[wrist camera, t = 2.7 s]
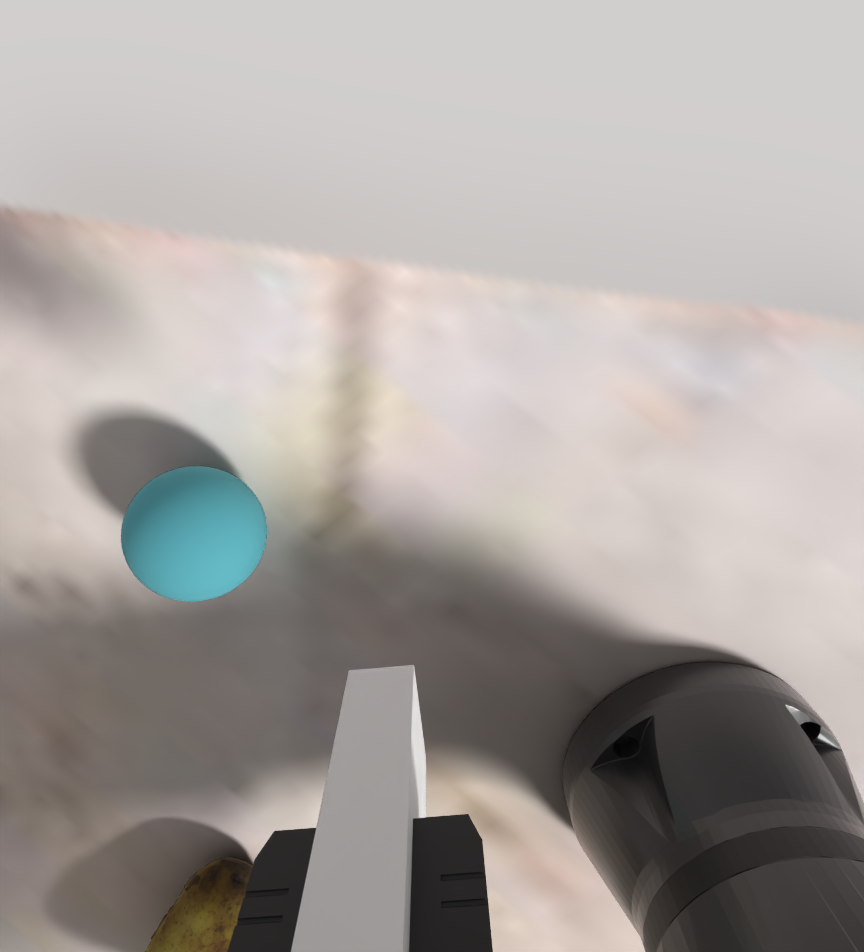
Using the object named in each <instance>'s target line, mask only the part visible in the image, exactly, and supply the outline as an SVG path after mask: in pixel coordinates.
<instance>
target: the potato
mask: <svg viewBox="0 0 864 952" xmlns="http://www.w3.org/2000/svg"><path fill="white" fill-rule="evenodd" d="M252 868H253V866H252V865H251V864H249V863H248V862H245V861H243V860H240V859H236V858H231V857H227V858H221V859H217V860H215V861H213V862H211V863H209V864H207V865H206V866H205V867H203V868H202V869H200V870H199V871H198V872H197V873H196V874H195V875H194V876H193V877H191V878H190V879H189V881H188V883H187V884H186V885H185V886H184V890H183V891H182V893H181V894H180V896H179V897H178V899H177V901H176V902H175V904H174V905H173V906H172V907H171V908H170V909H169V911H168V913H167V914H166V915H165V916H164V918H163V920H162V922H161V923H160V925H159V927H158V929H157V930H156V932H155V933H154V935H153V936H152V937H151V942H150V944H149V946H148V948H147V949H146V951H145V952H227V951H228V948H229V944H230V941H231V938H232V934H233V931H234V928H235V926H236V925H237V918H238V914H239V911H240V908H241V904H242V901H243V898H245V894H246V893H245V891H246V888H247V884H248V881H249V878H250V874H251V871H252Z"/></svg>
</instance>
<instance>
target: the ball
mask: <svg viewBox="0 0 864 952" xmlns="http://www.w3.org/2000/svg"><path fill="white" fill-rule="evenodd" d="M266 538H267V525H266V518H265V514H264V511H263V508H262V506H261V503H260V502H259V500H258V498H257V497H256V495H255V494H254V493H253V491H252V490H251V489H250V488H249V487H248V486H247V485H246V484H245V483H243V482H242V481H241V480H240V479H238V478H237V477H235V476H233V475H232V474H230V473H227V472H225V471H222V470H220V469H216V468H212V467H204V466H188V467H182V468H178V469H174V470H171V471H168V472H166V473H163V474H161V475H159V476H158V477H156V478H154V479H153V480H151V481H150V482H149V483H147V484H146V485H145V486H144V487H143V488H142V489H141V490H140V491H139V492H138V493H137V494H136V496H135V497H134V498H133V500H132V501H131V503H130V505H129V506H128V508H127V511H126V513H125V516H124V519H123V523H122V530H121V543H122V549H123V554H124V556H125V559H126V562H127V564H128V566H129V568H130V569H131V571H132V572H133V574H134V575H135V576H136V577H137V579H138V580H139V581H140V582H141V583H142V584H144V585H145V586H146V587H147V588H149V589H150V590H152V591H153V592H155V593H157V594H159V595H161V596H164V597H166V598H170V599H174V600H179V601H188V602H195V601H204V600H209V599H213V598H217V597H219V596H221V595H224V594H226V593H228V592H230V591H232V590H233V589H235V588H236V587H238V586H239V585H240V584H241V583H243V582H244V581H245V580H246V579H247V578H248V577H249V576H250V575H251V573H252V572H253V571H254V569H255V568H256V566H257V565H258V563H259V561H260V559H261V557H262V555H263V552H264V549H265V544H266Z"/></svg>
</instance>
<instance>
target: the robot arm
mask: <svg viewBox="0 0 864 952" xmlns="http://www.w3.org/2000/svg"><path fill="white" fill-rule="evenodd" d="M563 790H564V795H565V799H566V803H567V807H568V810H569V814H570V818H571V822H572V825H573V829H574V831H575V834H576V836H577V838H578V841H579V843H580V845H581V847H582V849H583V850H584V852H585V853H586V855H587V856H588V858H589V859H590V861H591V862H592V864H593V865H594V867H595V868H596V870H597V872H598V873H599V875H600V876H601V878H602V879H603V881H604V882H605V884H606V885H607V887H608V888H609V890H610V891H611V893H612V894H613V896H614V897H615V899H616V900H617V902H618V903H619V905H620V906H621V908H622V909H623V911H624V912H625V914H626V915H627V917H628V919H629V920H630V922H631V923H632V925H633V926H634V928H635V929H636V931H637V932H638V934H639V935H640V937H641V939H642V942H643V945H644V948H645V951H646V952H864V803H863V800H862V798H861V795H860V793H859V791H858V788H857V786H856V783H855V781H854V778H853V776H852V774H851V771H850V769H849V766H848V764H847V762H846V759H845V757H844V754H843V752H842V749H841V747H840V745H839V743H838V741H837V739H836V738H835V736H834V735H833V733H832V732H831V730H830V729H829V727H828V726H827V725H826V723H825V722H824V721H823V720H822V719H821V718H820V716H819V715H818V714H817V713H816V712H815V711H814V710H813V709H812V707H811V706H810V705H809V704H808V703H807V702H806V701H805V700H804V699H803V697H802V696H801V695H800V694H799V693H798V692H797V691H796V690H794V689H793V688H792V687H791V686H789V685H788V684H786V683H785V682H784V681H782V680H780V679H779V678H777V677H775V676H773V675H771V674H769V673H766V672H764V671H761V670H758V669H755V668H752V667H748V666H744V665H739V664H732V663H722V662H701V663H691V664H684V665H678V666H674V667H670V668H666V669H662V670H659V671H656V672H653V673H651V674H648V675H645V676H643V677H641V678H639V679H636V680H634V681H633V682H631V683H629V684H627V685H625V686H624V687H622V688H620V689H619V690H617V691H616V692H614V693H613V694H611V695H610V696H609V697H607V698H606V699H605V700H604V701H602V702H601V703H600V704H599V705H598V706H597V707H596V708H595V709H594V710H593V711H592V712H591V713H590V714H589V715H588V716H587V718H586V719H585V720H584V721H583V723H582V724H581V726H580V727H579V728H578V730H577V732H576V733H575V735H574V737H573V739H572V741H571V743H570V745H569V748H568V750H567V753H566V757H565V761H564V766H563ZM245 893H246V894H245V898H243V901H242V904H241V908H240V911H239V914H238V918H237V925H236V926H235V928H234V931H233V934H232V938H231V941H230V944H229V948H228V951H227V952H493V950H492V939H491V929H490V918H489V908H488V897H487V887H486V876H485V865H484V855H483V844H482V839H481V837H480V835H479V833H478V832H477V830H476V828H475V826H474V824H473V822H472V821H471V819H470V817H469V815H468V814H464V815H451V816H439V817H426V754H425V746H424V738H423V731H422V723H421V715H420V708H419V700H418V692H417V684H416V677H415V669H414V665H404V666H393V667H381V668H369V669H358V670H349V671H348V676H347V681H346V686H345V691H344V696H343V701H342V705H341V710H340V715H339V720H338V725H337V730H336V735H335V740H334V744H333V749H332V754H331V759H330V764H329V769H328V774H327V778H326V783H325V788H324V793H323V798H322V803H321V808H320V813H319V817H318V822H317V827H316V828H308V829H295V830H282V831H274V833H273V834H272V835H271V837H270V838H269V840H268V841H267V843H266V844H265V846H264V847H263V848H262V850H261V851H260V853H259V854H258V856H257V857H256V859H255V861H254V864H253V868H252V871H251V874H250V878H249V881H248V884H247V888H246V891H245Z"/></svg>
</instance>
